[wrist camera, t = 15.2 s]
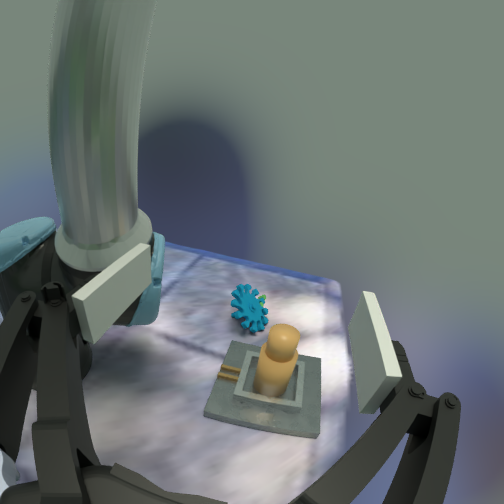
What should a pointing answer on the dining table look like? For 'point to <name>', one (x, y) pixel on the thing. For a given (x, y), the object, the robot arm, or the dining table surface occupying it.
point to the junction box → (264, 407)
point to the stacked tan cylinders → (277, 360)
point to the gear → (249, 308)
